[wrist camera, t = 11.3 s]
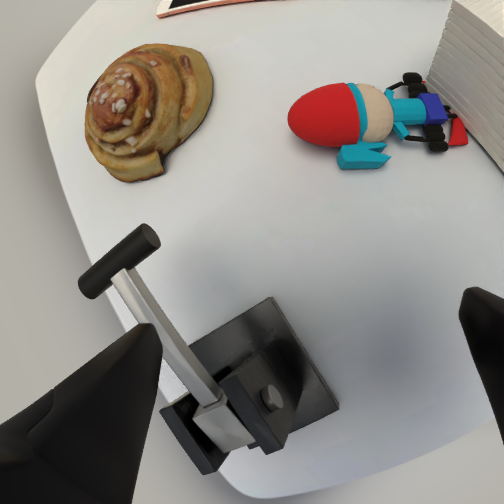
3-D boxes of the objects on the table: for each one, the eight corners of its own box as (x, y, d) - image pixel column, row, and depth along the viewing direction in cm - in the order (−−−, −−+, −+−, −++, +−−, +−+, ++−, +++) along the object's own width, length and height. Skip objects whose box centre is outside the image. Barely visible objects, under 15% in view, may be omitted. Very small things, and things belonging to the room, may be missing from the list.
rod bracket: (189, 345, 24) (114, 374, 15) (272, 296, 23) (229, 305, 14) (252, 444, 22) (209, 514, 13) (339, 404, 21) (338, 475, 12)
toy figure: (431, 87, 22) (277, 98, 23) (453, 60, 18) (277, 64, 18) (459, 161, 22) (298, 183, 23) (489, 143, 17) (304, 162, 18)
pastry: (105, 199, 28) (46, 178, 20) (104, 87, 30) (62, 55, 23) (229, 151, 25) (189, 103, 17) (204, 38, 27) (173, -11, 20)
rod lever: (92, 273, 16) (67, 281, 14) (153, 222, 16) (131, 223, 13) (213, 435, 17) (203, 460, 14) (283, 405, 16) (281, 431, 13)
